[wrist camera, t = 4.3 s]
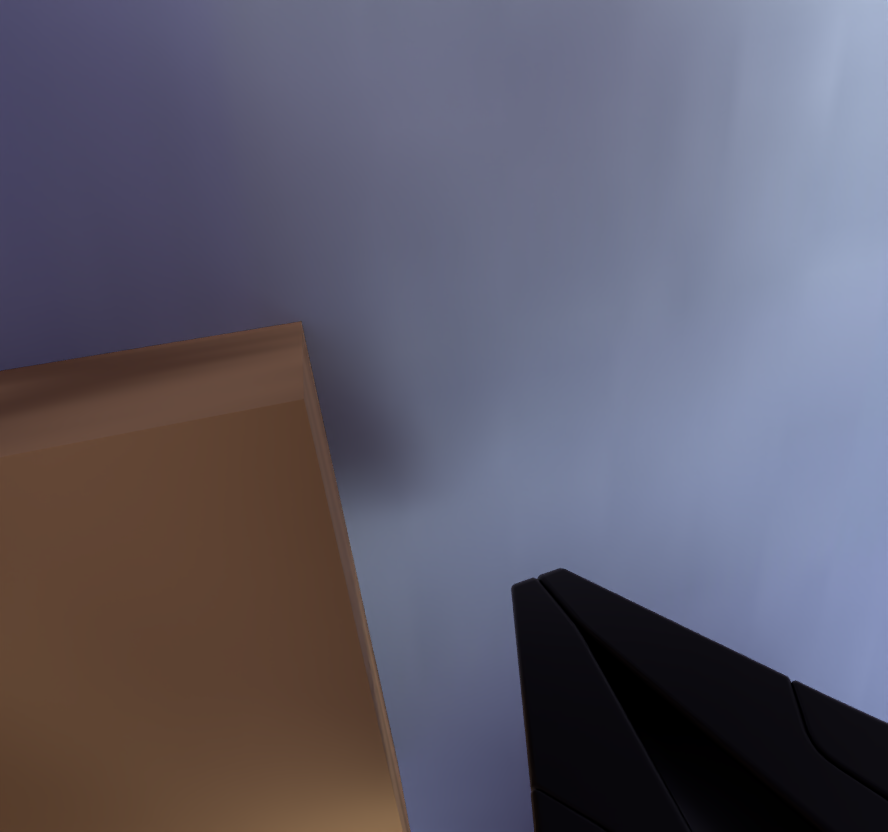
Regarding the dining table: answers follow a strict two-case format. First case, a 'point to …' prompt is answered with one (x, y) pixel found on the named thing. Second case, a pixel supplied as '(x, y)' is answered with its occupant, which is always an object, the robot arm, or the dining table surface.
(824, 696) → the robot arm
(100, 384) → the oak block
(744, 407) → the dining table surface
